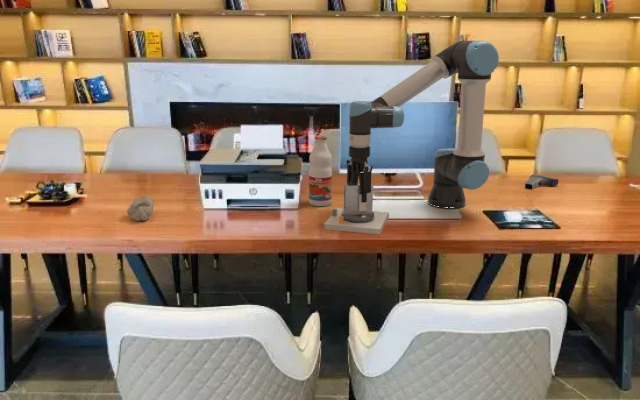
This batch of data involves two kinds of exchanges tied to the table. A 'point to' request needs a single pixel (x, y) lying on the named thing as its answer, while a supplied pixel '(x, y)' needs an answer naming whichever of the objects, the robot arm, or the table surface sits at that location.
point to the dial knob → (356, 204)
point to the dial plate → (356, 223)
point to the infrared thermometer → (540, 181)
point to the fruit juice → (320, 173)
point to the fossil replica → (141, 208)
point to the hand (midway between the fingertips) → (358, 208)
